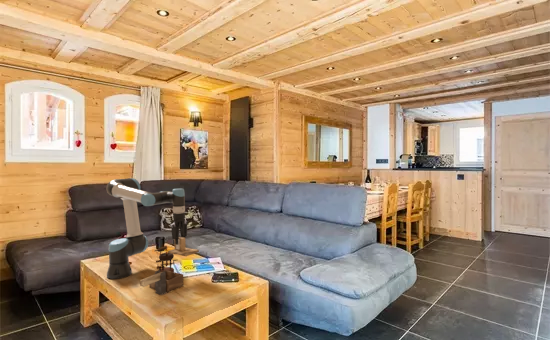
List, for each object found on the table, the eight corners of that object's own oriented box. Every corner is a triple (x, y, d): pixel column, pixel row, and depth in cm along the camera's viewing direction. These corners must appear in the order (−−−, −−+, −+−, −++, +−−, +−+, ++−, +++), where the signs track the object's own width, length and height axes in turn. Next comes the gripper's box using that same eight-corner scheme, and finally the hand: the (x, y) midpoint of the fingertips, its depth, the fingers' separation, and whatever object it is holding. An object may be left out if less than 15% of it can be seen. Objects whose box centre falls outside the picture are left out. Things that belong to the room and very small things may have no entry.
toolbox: (144, 289, 186) (143, 269, 186) (165, 280, 199) (165, 261, 199) (162, 295, 178) (162, 273, 177) (183, 285, 191) (182, 265, 191)
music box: (157, 279, 201) (156, 248, 202) (153, 276, 210) (151, 246, 211) (181, 274, 210) (179, 244, 210) (176, 271, 219) (174, 242, 220)
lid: (168, 252, 201) (167, 238, 200) (181, 248, 210) (180, 234, 210) (186, 256, 193) (185, 241, 192) (198, 251, 202) (198, 237, 202)
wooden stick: (140, 285, 171) (140, 280, 171) (161, 277, 183) (161, 272, 183) (143, 286, 169) (143, 281, 169) (164, 278, 181) (164, 272, 181)
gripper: (173, 214, 193) (174, 252, 194) (192, 211, 207) (193, 246, 208) (165, 214, 197) (166, 250, 198) (184, 210, 211) (185, 244, 212)
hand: (180, 248), depth 203 cm, fingers closed on lid, 3 cm apart
